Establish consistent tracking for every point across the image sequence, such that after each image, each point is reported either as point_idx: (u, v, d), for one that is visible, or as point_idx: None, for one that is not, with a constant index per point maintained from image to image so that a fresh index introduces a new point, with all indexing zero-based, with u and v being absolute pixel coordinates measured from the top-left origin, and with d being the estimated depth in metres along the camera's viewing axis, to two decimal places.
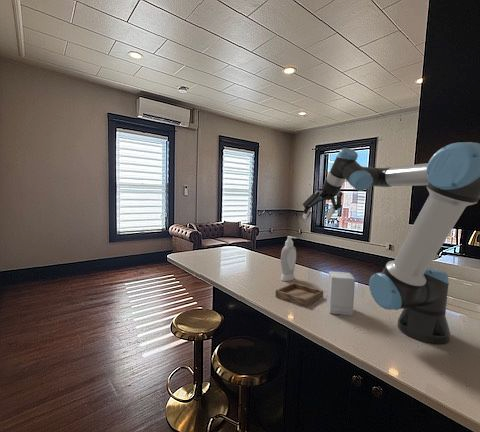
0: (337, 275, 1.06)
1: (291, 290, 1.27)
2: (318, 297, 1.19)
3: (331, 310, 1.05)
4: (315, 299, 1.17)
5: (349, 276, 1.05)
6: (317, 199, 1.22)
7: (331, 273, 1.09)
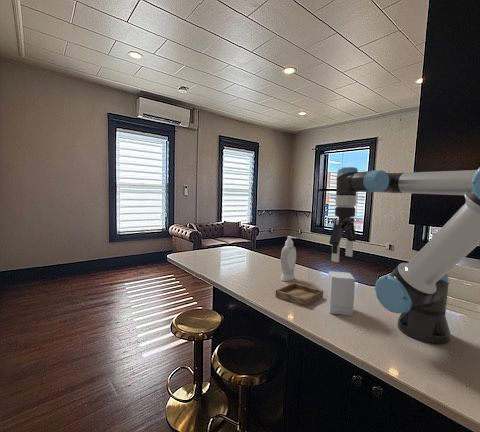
0: (337, 275, 1.06)
1: (291, 290, 1.27)
2: (318, 297, 1.19)
3: (331, 310, 1.05)
4: (315, 299, 1.17)
5: (349, 276, 1.05)
6: (340, 231, 1.02)
7: (331, 273, 1.09)
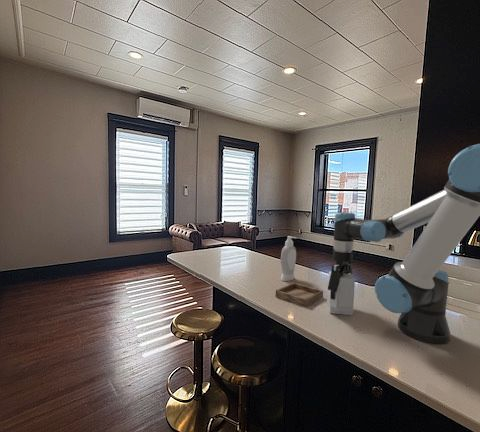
0: None
1: (291, 290, 1.27)
2: (318, 297, 1.19)
3: (331, 310, 1.05)
4: (315, 299, 1.17)
5: (349, 276, 1.05)
6: (337, 276, 1.04)
7: None
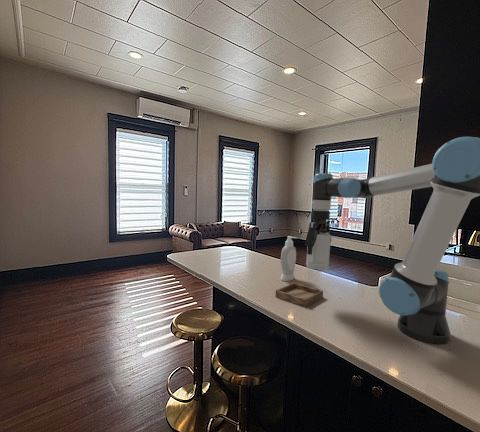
0: None
1: (291, 290, 1.27)
2: (318, 297, 1.19)
3: (308, 265, 1.12)
4: (315, 299, 1.17)
5: (326, 234, 1.12)
6: (315, 233, 1.10)
7: None
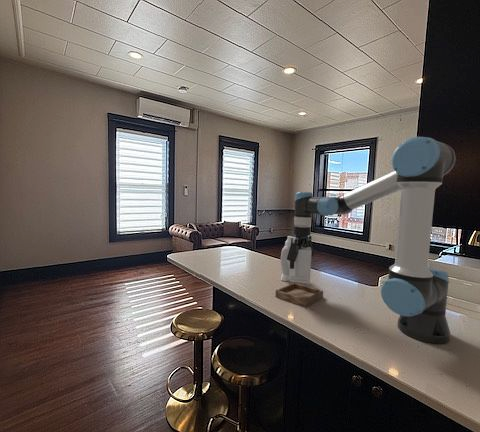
0: None
1: (291, 290, 1.27)
2: (318, 297, 1.19)
3: (291, 279, 1.17)
4: (315, 299, 1.17)
5: (307, 248, 1.18)
6: (296, 248, 1.16)
7: None
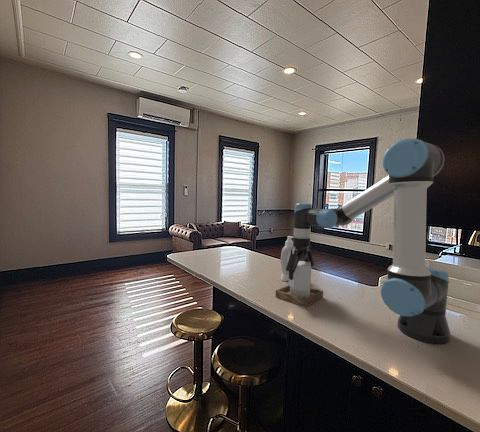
0: None
1: None
2: (318, 297, 1.19)
3: (291, 294, 1.18)
4: (315, 299, 1.17)
5: (307, 264, 1.19)
6: (296, 259, 1.17)
7: None
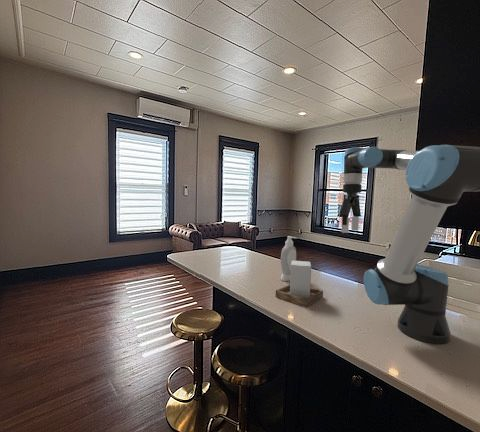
0: (297, 263, 1.19)
1: None
2: (318, 297, 1.19)
3: (291, 294, 1.18)
4: (315, 299, 1.17)
5: (307, 264, 1.19)
6: (348, 205, 1.13)
7: (292, 262, 1.22)
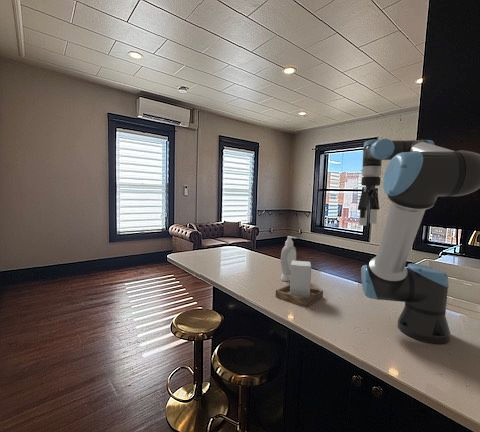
0: (297, 263, 1.19)
1: None
2: (318, 297, 1.19)
3: (291, 294, 1.18)
4: (315, 299, 1.17)
5: (307, 264, 1.19)
6: (367, 197, 1.13)
7: (292, 262, 1.22)
